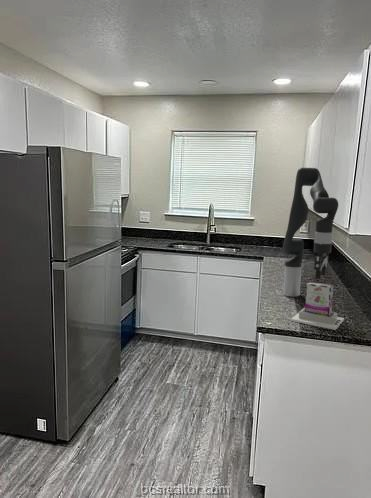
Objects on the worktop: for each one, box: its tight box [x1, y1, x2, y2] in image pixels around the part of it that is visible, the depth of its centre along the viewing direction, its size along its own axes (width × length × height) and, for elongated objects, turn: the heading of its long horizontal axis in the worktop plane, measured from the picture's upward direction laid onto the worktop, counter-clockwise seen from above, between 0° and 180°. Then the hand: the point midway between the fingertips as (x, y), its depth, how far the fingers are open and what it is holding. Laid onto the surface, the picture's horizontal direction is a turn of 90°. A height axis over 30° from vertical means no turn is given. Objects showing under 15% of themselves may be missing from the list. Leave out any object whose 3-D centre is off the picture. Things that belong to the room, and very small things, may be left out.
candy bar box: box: [304, 281, 334, 317], centre depth 173 cm, size 11×5×16 cm, turn 55°
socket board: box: [290, 306, 345, 331], centre depth 174 cm, size 16×20×4 cm
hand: (320, 276), depth 171 cm, fingers open, 8 cm apart
